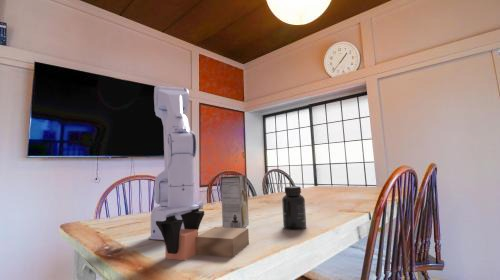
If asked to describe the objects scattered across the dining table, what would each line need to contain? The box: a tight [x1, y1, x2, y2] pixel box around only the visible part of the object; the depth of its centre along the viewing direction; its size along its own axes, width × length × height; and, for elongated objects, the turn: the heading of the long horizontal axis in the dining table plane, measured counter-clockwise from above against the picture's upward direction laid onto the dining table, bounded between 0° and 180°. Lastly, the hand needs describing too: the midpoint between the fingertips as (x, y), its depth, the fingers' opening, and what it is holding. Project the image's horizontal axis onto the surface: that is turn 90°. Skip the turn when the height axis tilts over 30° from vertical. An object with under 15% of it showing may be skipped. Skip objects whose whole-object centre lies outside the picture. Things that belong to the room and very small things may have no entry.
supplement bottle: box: [281, 185, 307, 231], centre depth 75 cm, size 7×7×12 cm
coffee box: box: [220, 174, 250, 228], centre depth 79 cm, size 9×6×16 cm
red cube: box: [164, 229, 199, 261], centre depth 55 cm, size 5×5×5 cm
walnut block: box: [195, 226, 250, 258], centre depth 58 cm, size 9×9×4 cm
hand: (182, 248), depth 55 cm, fingers open, 6 cm apart
